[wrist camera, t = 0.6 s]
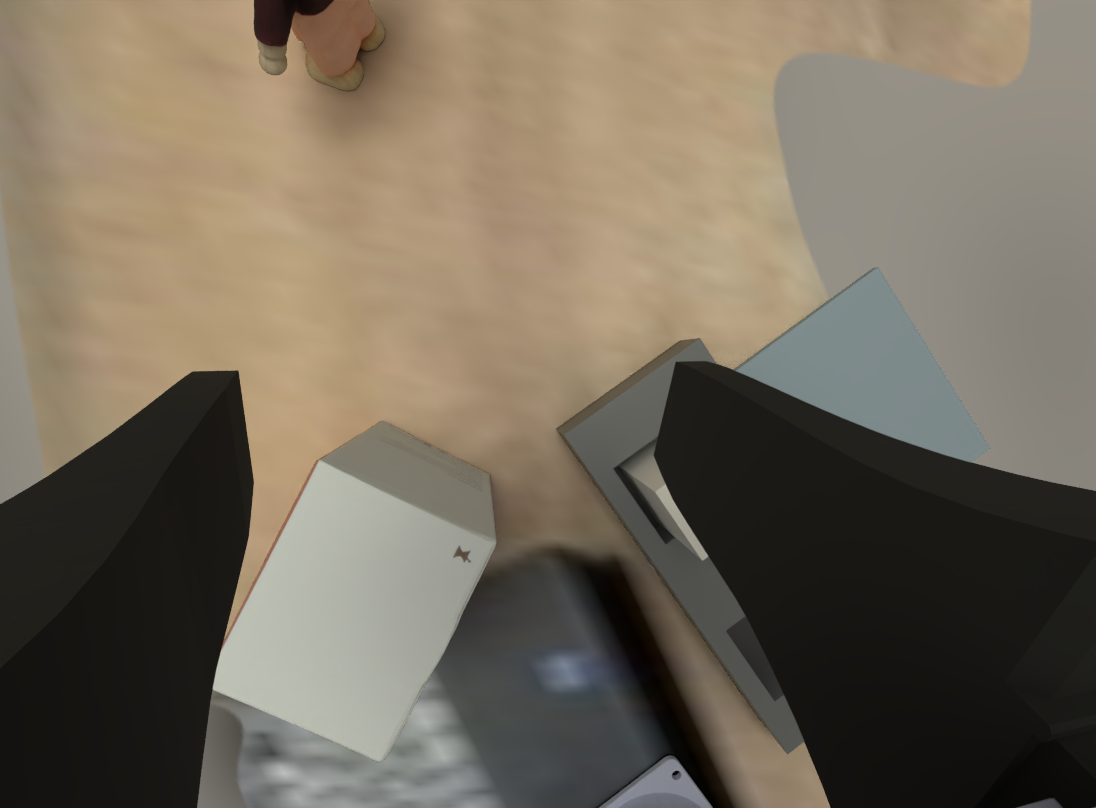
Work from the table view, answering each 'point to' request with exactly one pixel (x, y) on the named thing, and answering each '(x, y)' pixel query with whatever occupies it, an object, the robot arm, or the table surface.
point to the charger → (659, 496)
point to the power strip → (695, 584)
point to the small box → (361, 590)
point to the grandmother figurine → (318, 37)
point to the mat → (870, 370)
